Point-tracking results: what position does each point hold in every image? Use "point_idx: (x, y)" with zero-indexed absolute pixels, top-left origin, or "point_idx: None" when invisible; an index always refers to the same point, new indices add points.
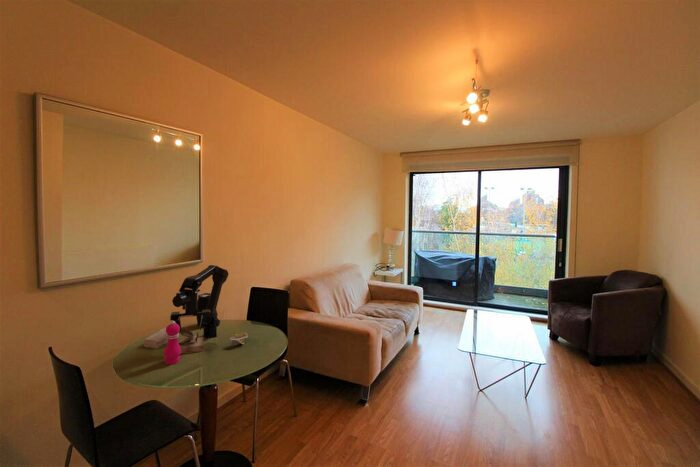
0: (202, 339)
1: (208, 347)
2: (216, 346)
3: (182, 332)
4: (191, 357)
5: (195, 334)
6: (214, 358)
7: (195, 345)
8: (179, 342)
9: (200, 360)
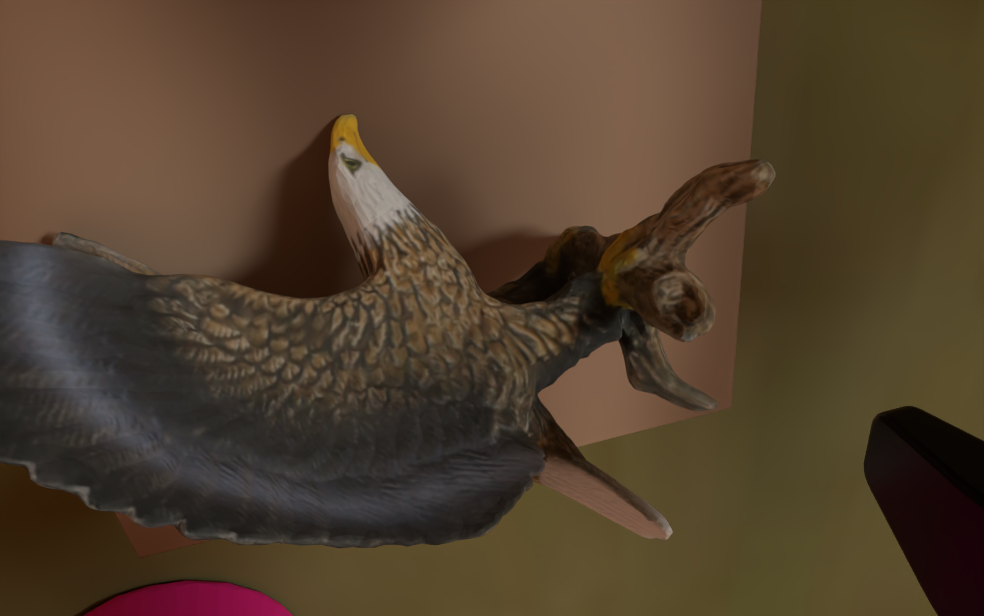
0: (737, 47)
1: (792, 160)
2: (961, 122)
3: (29, 384)
4: (478, 537)
5: (640, 517)
6: (822, 544)
7: (556, 413)
8: (17, 233)
9: (627, 600)
